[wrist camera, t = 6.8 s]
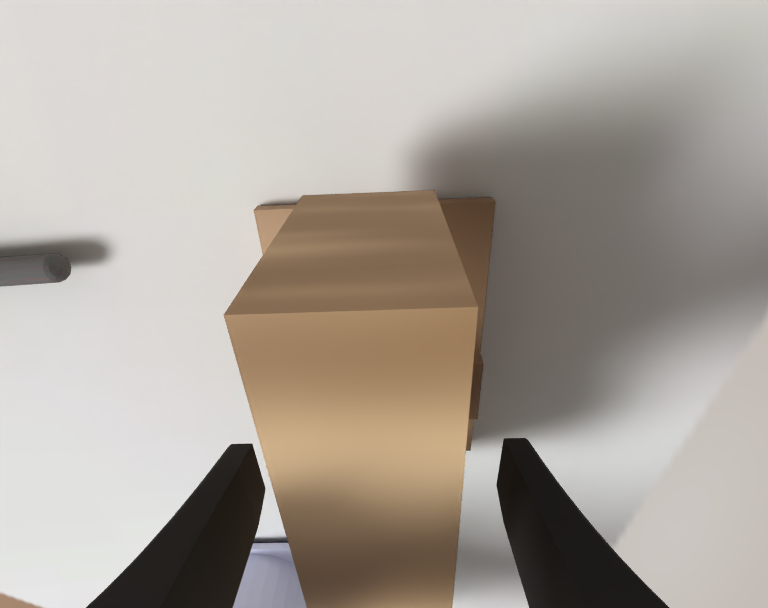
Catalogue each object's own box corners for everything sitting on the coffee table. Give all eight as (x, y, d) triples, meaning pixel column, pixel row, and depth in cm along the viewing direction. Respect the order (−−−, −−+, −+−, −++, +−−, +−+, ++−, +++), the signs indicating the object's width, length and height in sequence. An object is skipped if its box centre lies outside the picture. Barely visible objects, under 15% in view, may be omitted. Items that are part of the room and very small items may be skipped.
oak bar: (428, 512, 18) (444, 695, 13) (348, 513, 18) (331, 696, 13) (434, 190, 11) (478, 306, 6) (302, 195, 11) (223, 314, 6)
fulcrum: (468, 442, 20) (480, 498, 17) (305, 445, 20) (293, 501, 17) (492, 197, 14) (515, 227, 11) (257, 205, 14) (228, 237, 11)
